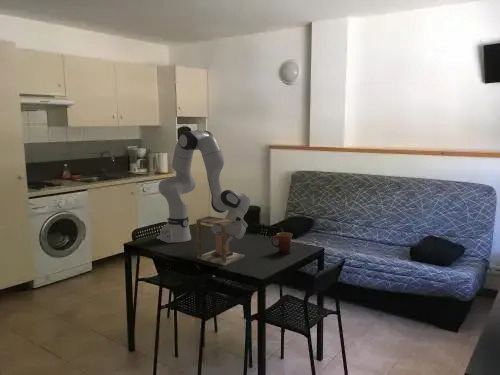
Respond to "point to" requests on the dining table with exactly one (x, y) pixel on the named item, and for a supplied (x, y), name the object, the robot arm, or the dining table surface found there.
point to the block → (219, 243)
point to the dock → (224, 257)
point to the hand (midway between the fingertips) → (221, 242)
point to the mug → (283, 242)
